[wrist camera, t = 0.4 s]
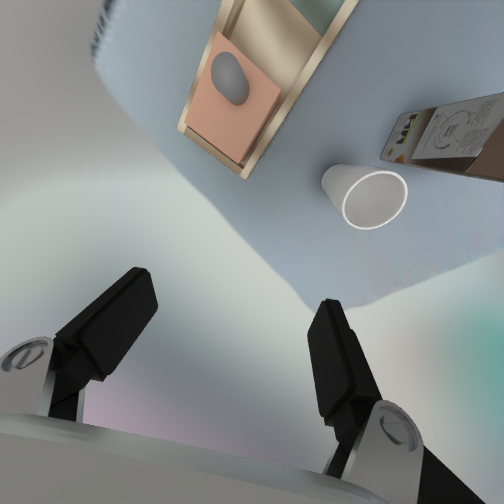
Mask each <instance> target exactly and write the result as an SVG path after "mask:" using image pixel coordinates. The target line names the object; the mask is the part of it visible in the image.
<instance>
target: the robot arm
mask: <svg viewBox="0 0 504 504" xmlns="http://www.w3.org/2000/svg"><path fill="white" fill-rule="evenodd" d="M157 309H158V303H157V299H156V295H155V291H154V287H153V283H152V279H151V275H150V273H149V272H148V271H147V269H145V268H139V267H133V268H132V269H130V270H129V271H128V272H127V273H126V274H125V275H124V276H122V277H121V278H120V279H119V280H118V281H116V282H115V283H114V284H113V285H112V286H111V287H110V288H108V289H107V290H106V291H105V292H104V293H103V294H101V295H100V296H99V297H98V298H97V299H96V300H94V301H93V302H92V303H91V304H90V305H89V306H87V307H86V308H85V309H84V310H83V311H82V312H81V313H79V314H78V315H77V316H76V317H75V318H74V319H72V320H71V321H70V322H69V323H68V324H67V325H66V326H64V327H63V328H62V329H61V330H60V331H59V332H58V333H56V334H55V335H56V337H55V338H54V339H53V340H52V339H51V338H49V337H37V338H32V339H30V340H27V341H25V342H22V343H20V344H19V345H17V346H15V347H13V348H12V349H11V350H9V351H8V352H6V353H5V354H4V355H3V356H2V357H1V358H0V504H485V503H484V502H483V501H482V500H481V499H480V498H479V497H478V496H477V495H476V494H475V493H474V492H473V491H472V490H470V489H469V488H468V487H467V486H466V485H465V484H464V483H463V482H462V481H461V480H460V479H459V478H458V477H457V476H456V475H455V474H454V473H453V472H451V470H449V469H448V468H447V467H446V466H445V465H444V464H443V463H442V462H441V461H440V460H439V459H438V458H437V457H436V456H435V455H433V453H432V452H430V451H429V450H428V449H427V448H426V447H425V446H424V445H423V440H422V437H421V434H420V432H419V430H418V428H417V426H416V424H415V423H414V422H413V420H412V419H411V418H410V416H409V415H408V414H407V413H406V412H405V411H403V409H402V408H400V407H398V406H397V405H396V404H394V403H392V402H390V401H387V400H383V399H382V397H381V394H380V392H379V389H378V387H377V384H376V382H375V380H374V377H373V375H372V372H371V370H370V368H369V365H368V363H367V360H366V358H365V355H364V353H363V351H362V348H361V346H360V343H359V341H358V338H357V336H356V334H355V332H354V331H353V330H352V329H350V326H349V324H348V321H347V319H346V316H345V314H344V311H343V309H342V306H341V304H340V302H339V301H338V300H333V299H326V300H325V301H322V302H321V304H320V306H319V308H318V311H317V313H316V315H315V317H314V319H313V322H312V324H311V326H310V328H309V330H308V334H307V338H308V344H309V351H310V356H311V363H312V370H313V376H314V382H315V388H316V394H317V401H318V408H319V413H320V415H321V417H324V422H325V425H326V426H331V427H334V430H335V435H336V440H337V441H336V443H335V446H334V448H333V451H332V452H331V455H330V457H329V459H328V461H327V463H326V466H325V468H324V470H323V473H322V474H319V473H315V472H311V471H307V470H302V469H298V468H294V467H290V466H286V465H280V464H276V463H272V462H267V461H262V460H258V459H253V458H248V457H243V456H239V455H234V454H229V453H224V452H220V451H215V450H210V449H205V448H200V447H196V446H191V445H186V444H181V443H177V442H172V441H167V440H162V439H157V438H152V437H148V436H143V435H138V434H133V433H128V432H123V431H118V430H113V429H108V428H103V427H99V426H94V425H89V424H84V423H82V422H83V410H84V397H85V387H86V385H87V383H88V382H89V381H90V380H91V379H92V380H97V381H101V382H103V381H104V379H105V378H106V377H107V375H110V374H111V373H112V372H113V371H114V370H115V369H116V367H117V366H118V364H119V363H120V362H121V360H122V359H123V357H124V356H125V355H126V353H127V352H128V350H129V349H130V347H131V346H132V345H133V343H134V342H135V341H136V339H137V338H138V336H139V335H140V334H141V332H142V331H143V329H144V328H145V327H146V325H147V324H148V322H149V321H150V320H151V318H152V317H153V315H154V314H155V313H156V311H157Z"/></svg>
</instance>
